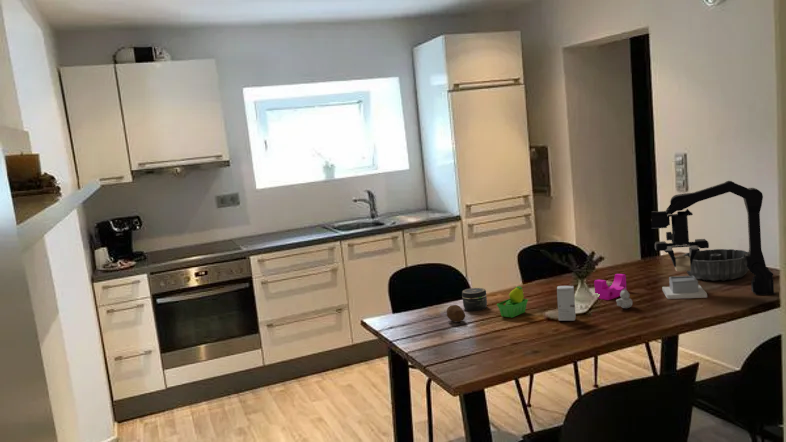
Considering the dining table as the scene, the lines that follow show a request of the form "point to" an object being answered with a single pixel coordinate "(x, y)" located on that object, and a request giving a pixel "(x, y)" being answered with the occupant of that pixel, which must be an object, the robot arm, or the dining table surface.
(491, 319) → the dining table surface
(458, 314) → the potato
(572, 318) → the skincare box
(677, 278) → the grey square base plate
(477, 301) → the jar
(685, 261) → the snap block
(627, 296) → the rubber duck
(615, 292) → the toy block
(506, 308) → the fruit basket
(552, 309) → the dining table surface
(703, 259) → the bundt pan
